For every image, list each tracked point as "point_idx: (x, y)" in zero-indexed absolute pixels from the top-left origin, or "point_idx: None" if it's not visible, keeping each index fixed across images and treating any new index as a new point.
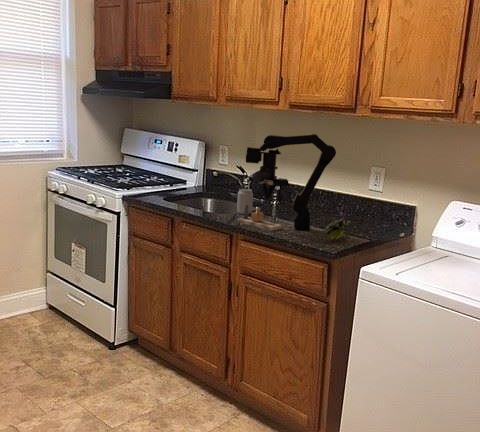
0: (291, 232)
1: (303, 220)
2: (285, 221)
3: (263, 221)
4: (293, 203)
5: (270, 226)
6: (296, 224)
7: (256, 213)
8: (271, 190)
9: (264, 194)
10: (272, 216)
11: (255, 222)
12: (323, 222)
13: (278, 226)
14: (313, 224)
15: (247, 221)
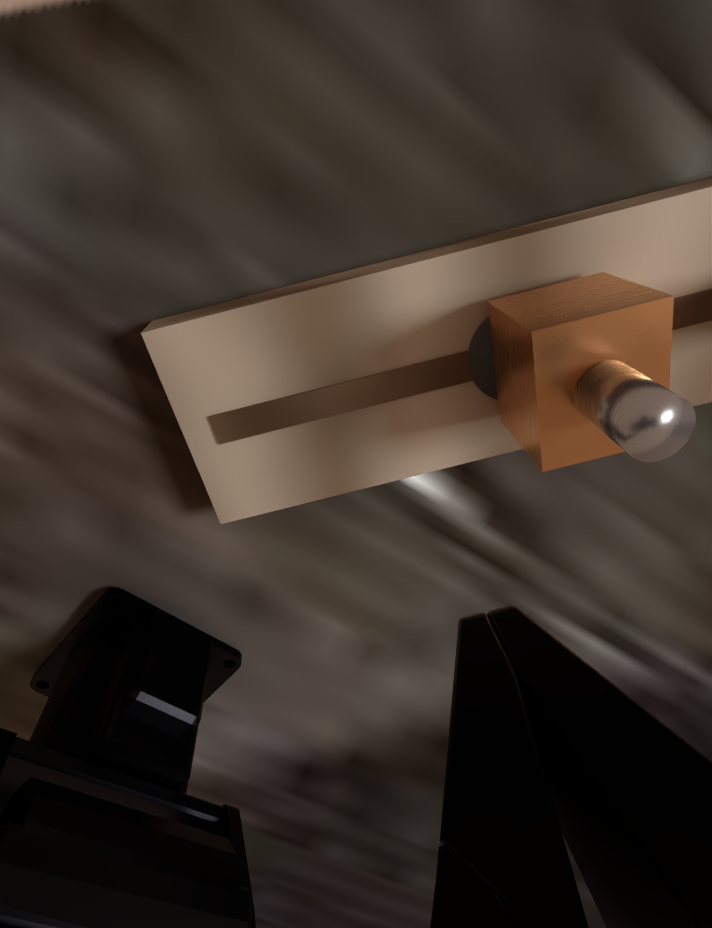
0: (16, 500)
1: (32, 735)
2: None
3: (493, 422)
4: (122, 916)
5: (197, 345)
6: (125, 649)
7: (570, 337)
8: None
9: (615, 699)
10: (707, 669)
11: (499, 280)
12: (320, 875)
13: (197, 459)
14: (287, 803)
15: (624, 208)
